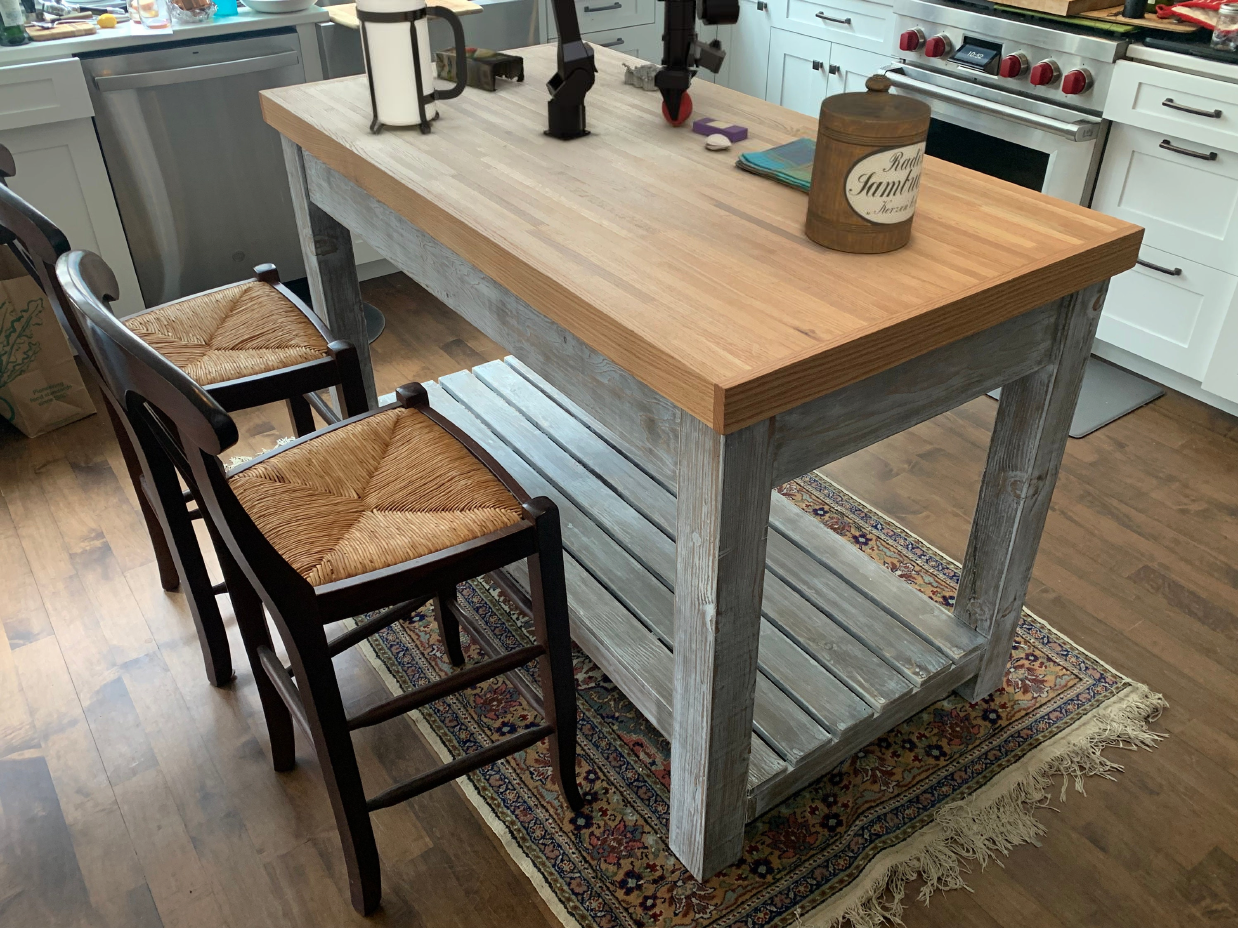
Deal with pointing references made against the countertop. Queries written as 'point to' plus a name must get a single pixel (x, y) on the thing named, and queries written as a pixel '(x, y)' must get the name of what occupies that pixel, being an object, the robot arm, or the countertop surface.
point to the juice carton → (480, 66)
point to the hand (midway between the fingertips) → (676, 116)
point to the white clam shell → (717, 142)
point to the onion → (684, 110)
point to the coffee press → (404, 61)
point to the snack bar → (720, 129)
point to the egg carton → (641, 76)
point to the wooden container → (867, 169)
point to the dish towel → (783, 163)
